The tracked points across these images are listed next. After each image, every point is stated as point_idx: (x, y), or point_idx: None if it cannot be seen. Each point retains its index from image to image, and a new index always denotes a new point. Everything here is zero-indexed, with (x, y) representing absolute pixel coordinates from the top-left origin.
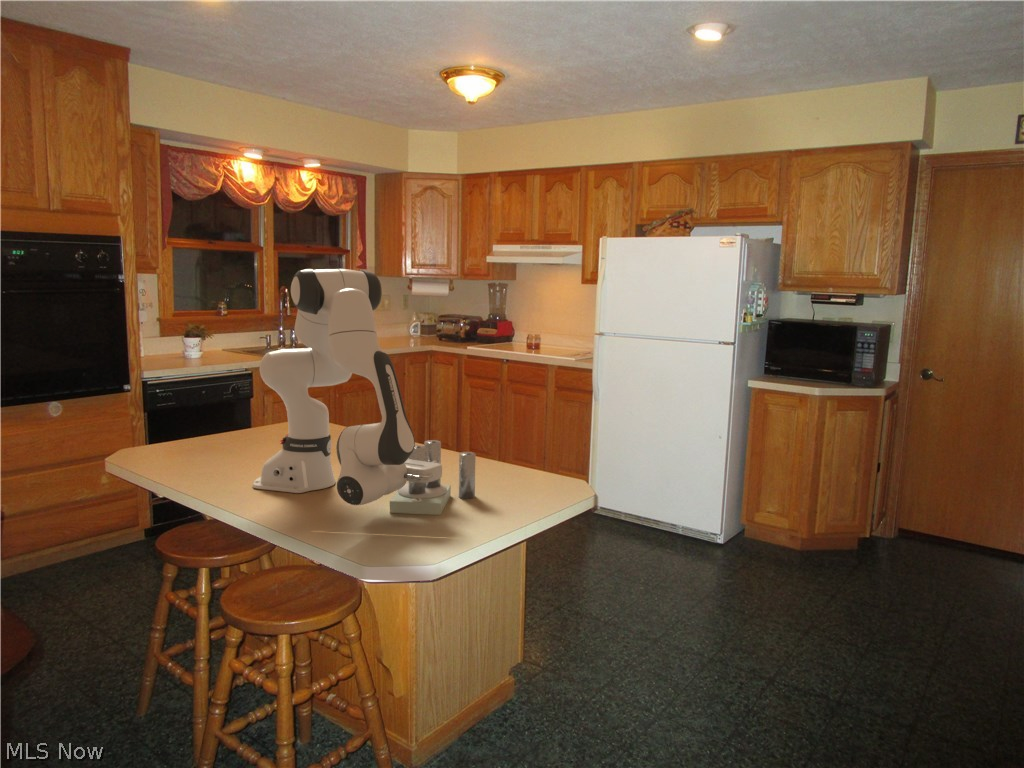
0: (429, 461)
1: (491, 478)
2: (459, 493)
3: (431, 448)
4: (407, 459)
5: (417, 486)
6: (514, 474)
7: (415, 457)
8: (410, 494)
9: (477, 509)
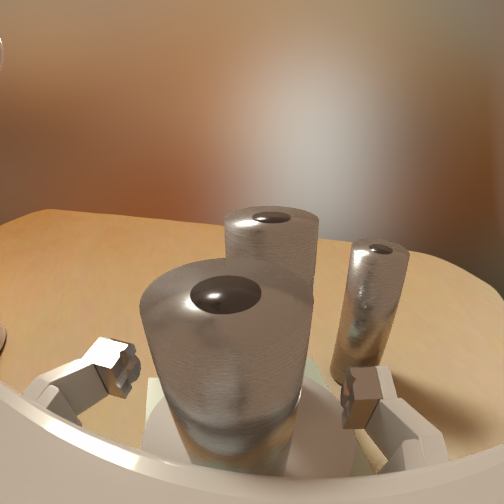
0: (360, 397)
1: (319, 273)
2: (343, 375)
3: (286, 260)
4: (184, 499)
5: None
6: (341, 255)
7: (243, 414)
8: None
9: (440, 430)
